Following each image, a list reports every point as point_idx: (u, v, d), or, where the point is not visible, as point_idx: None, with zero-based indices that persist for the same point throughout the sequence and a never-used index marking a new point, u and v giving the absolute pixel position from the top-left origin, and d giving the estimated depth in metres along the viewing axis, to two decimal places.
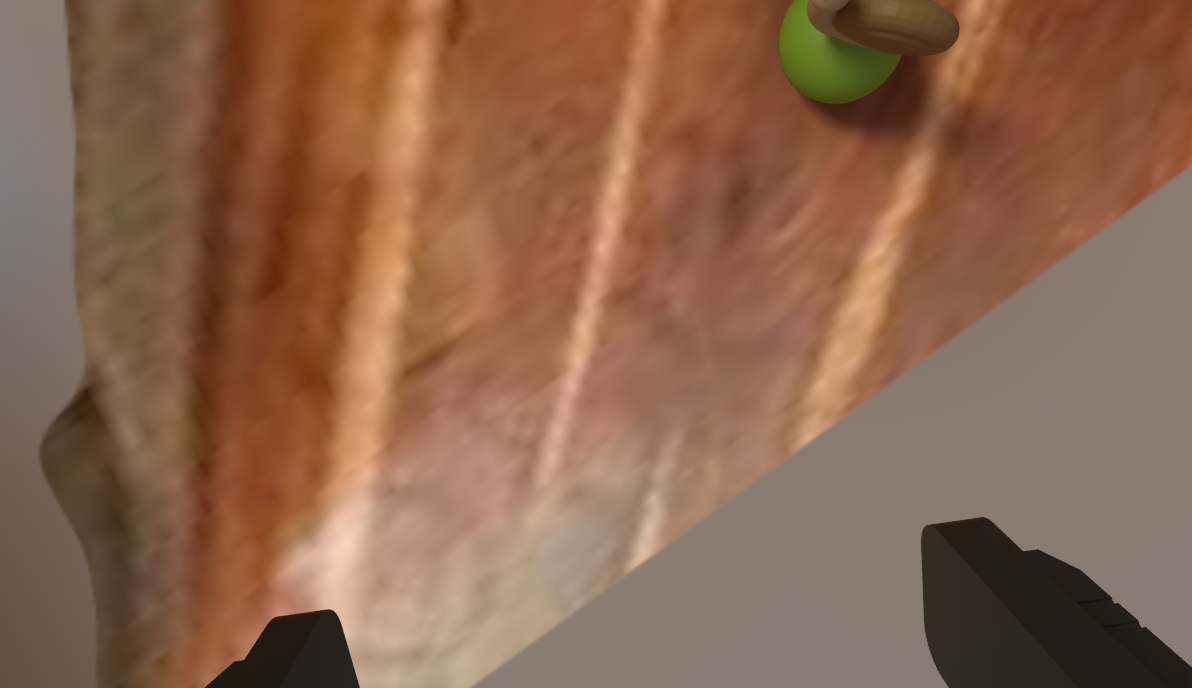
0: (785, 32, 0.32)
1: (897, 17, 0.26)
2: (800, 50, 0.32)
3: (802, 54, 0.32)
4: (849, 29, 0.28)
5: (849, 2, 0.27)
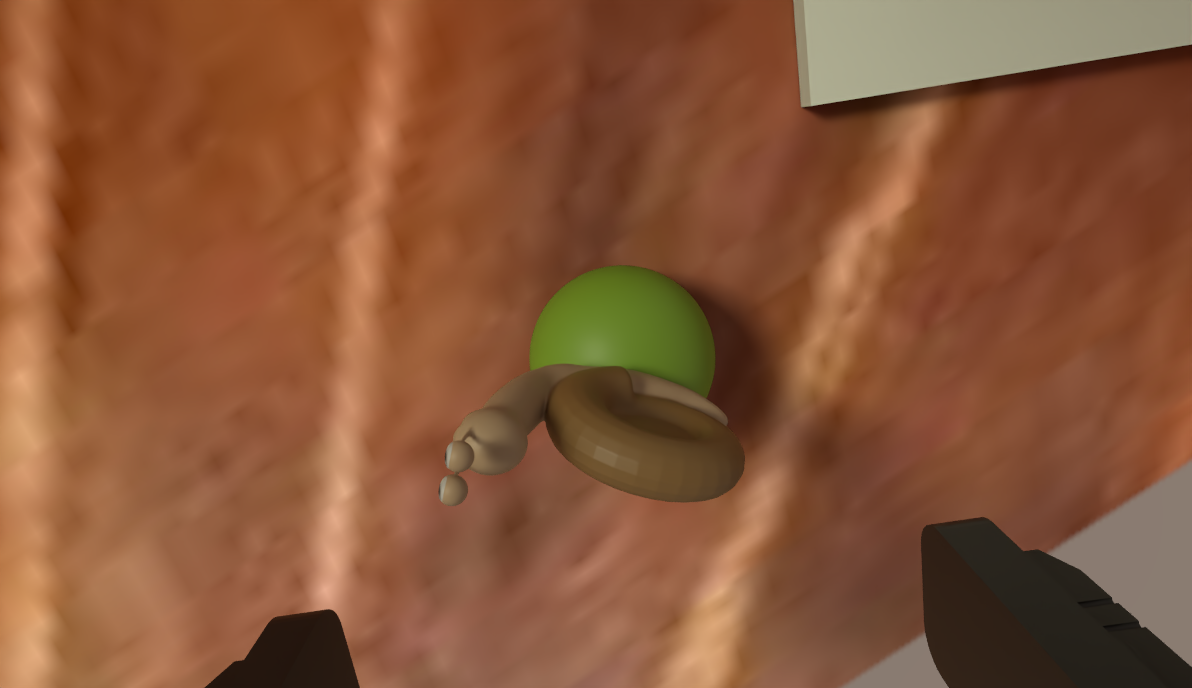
0: (530, 355, 0.21)
1: (616, 478, 0.14)
2: None
3: None
4: None
5: (552, 421, 0.15)
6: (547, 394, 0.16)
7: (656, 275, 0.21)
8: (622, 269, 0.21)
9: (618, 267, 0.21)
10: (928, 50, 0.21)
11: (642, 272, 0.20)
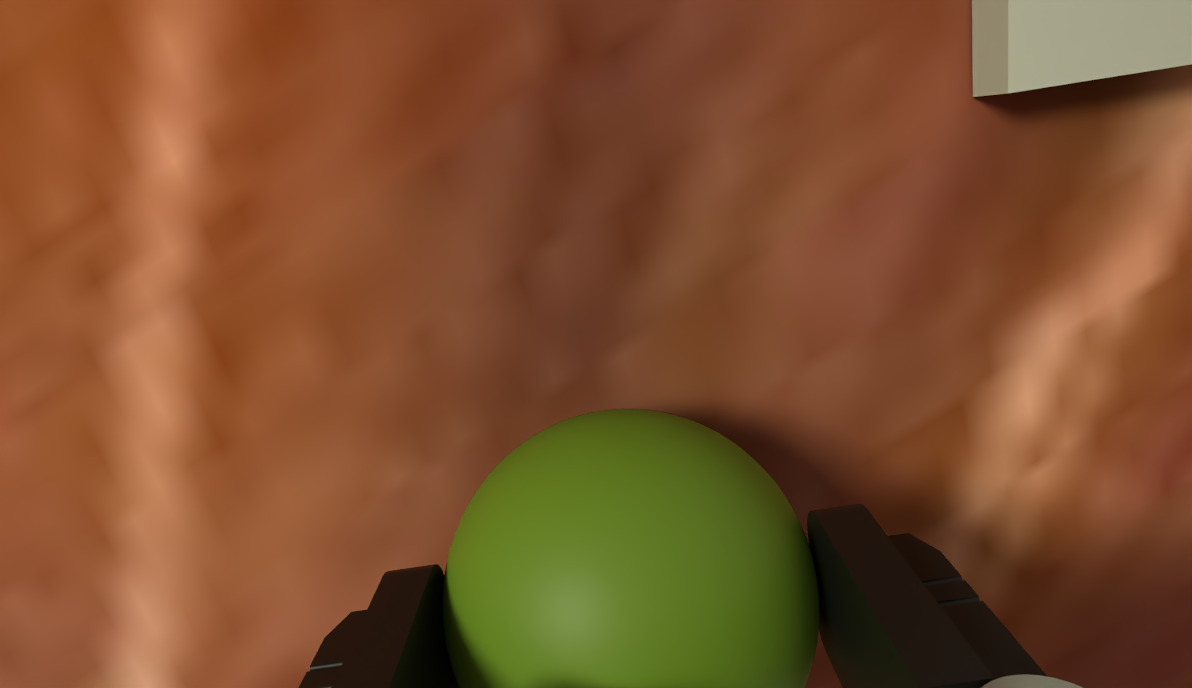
0: (443, 601, 0.10)
1: None
2: None
3: None
4: None
5: None
6: None
7: (702, 443, 0.10)
8: (632, 431, 0.10)
9: (623, 422, 0.10)
10: None
11: (673, 438, 0.10)
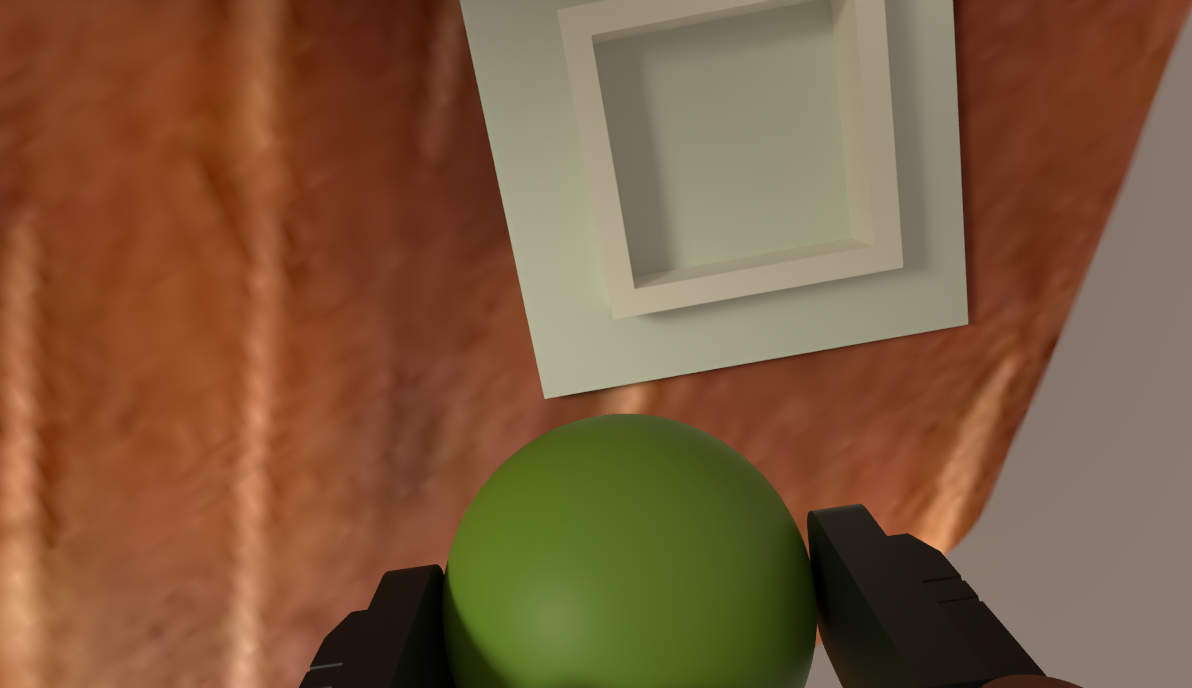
0: None
1: None
2: None
3: None
4: None
5: None
6: None
7: (701, 449, 0.10)
8: (631, 436, 0.10)
9: (622, 428, 0.10)
10: (619, 362, 0.31)
11: (672, 444, 0.10)
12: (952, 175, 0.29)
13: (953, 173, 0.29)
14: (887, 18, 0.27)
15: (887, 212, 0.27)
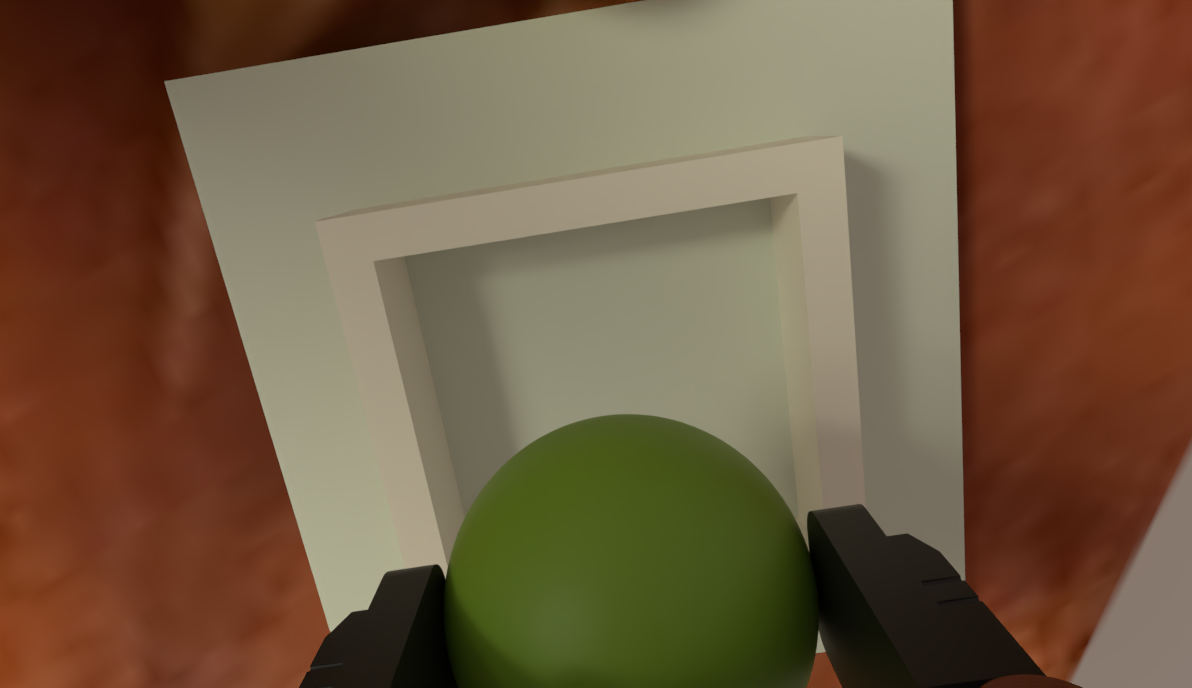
0: None
1: None
2: None
3: None
4: None
5: None
6: None
7: (703, 449, 0.10)
8: (633, 437, 0.10)
9: (624, 428, 0.10)
10: None
11: (675, 444, 0.10)
12: (949, 436, 0.19)
13: (950, 433, 0.19)
14: (856, 216, 0.18)
15: None
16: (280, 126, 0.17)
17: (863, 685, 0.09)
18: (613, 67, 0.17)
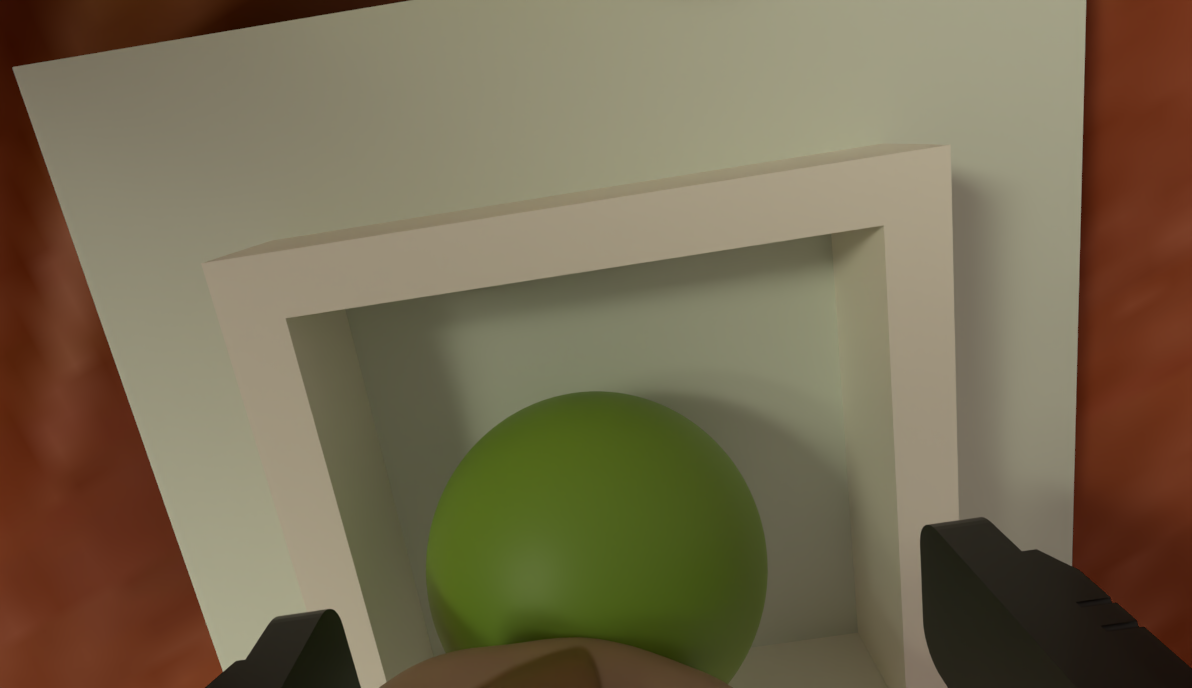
0: (426, 563, 0.11)
1: None
2: (447, 651, 0.11)
3: None
4: None
5: None
6: None
7: (660, 420, 0.11)
8: (596, 409, 0.11)
9: (590, 402, 0.11)
10: None
11: (634, 416, 0.11)
12: (1056, 533, 0.15)
13: (1058, 529, 0.15)
14: None
15: None
16: (172, 129, 0.13)
17: None
18: (622, 50, 0.12)
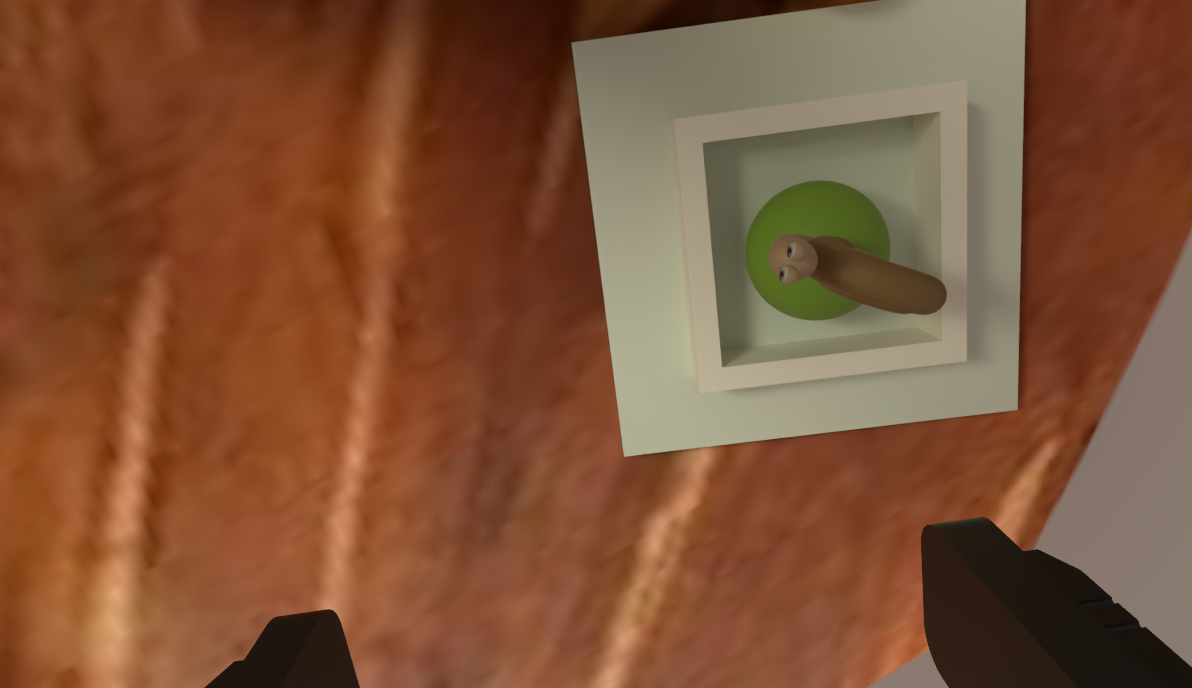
0: (752, 244, 0.28)
1: (872, 289, 0.22)
2: (767, 270, 0.27)
3: (769, 275, 0.27)
4: (818, 281, 0.23)
5: (817, 258, 0.23)
6: None
7: None
8: (825, 181, 0.28)
9: (820, 180, 0.28)
10: (696, 427, 0.34)
11: (840, 183, 0.28)
12: (1012, 276, 0.32)
13: (1013, 274, 0.32)
14: None
15: (956, 311, 0.30)
16: (633, 71, 0.30)
17: None
18: (828, 42, 0.29)
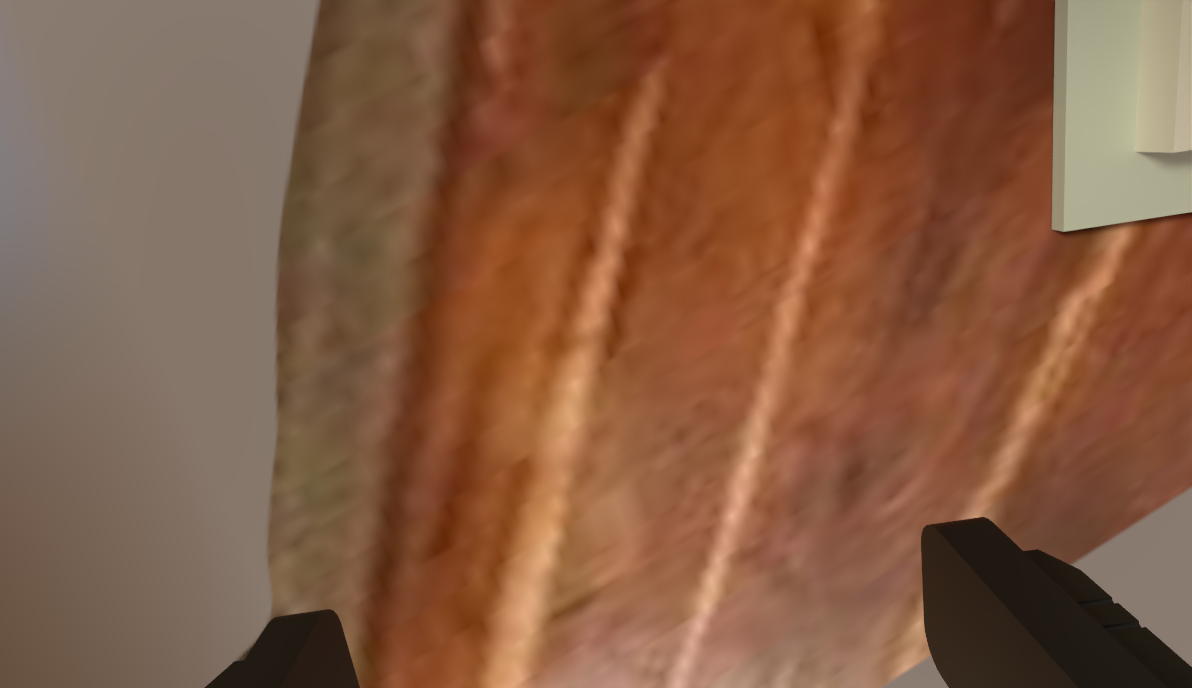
0: None
1: None
2: None
3: None
4: None
5: None
6: None
7: None
8: None
9: None
10: (1131, 202, 0.37)
11: None
12: None
13: None
14: None
15: None
16: None
17: None
18: None
